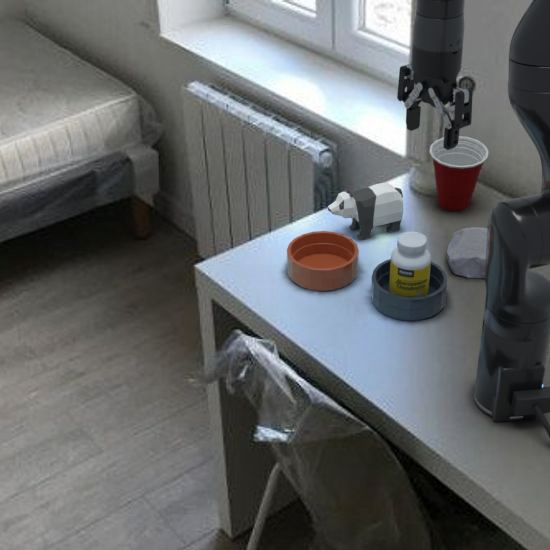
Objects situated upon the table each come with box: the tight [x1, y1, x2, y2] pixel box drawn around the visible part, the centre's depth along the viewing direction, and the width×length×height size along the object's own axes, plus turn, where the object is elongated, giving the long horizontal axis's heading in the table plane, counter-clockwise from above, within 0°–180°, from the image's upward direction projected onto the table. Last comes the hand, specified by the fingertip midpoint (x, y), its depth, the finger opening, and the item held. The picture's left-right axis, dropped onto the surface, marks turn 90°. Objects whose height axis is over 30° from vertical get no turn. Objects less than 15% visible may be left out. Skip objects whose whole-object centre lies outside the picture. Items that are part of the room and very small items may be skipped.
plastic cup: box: [429, 135, 489, 213], centre depth 182 cm, size 11×11×12 cm
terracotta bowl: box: [286, 230, 360, 292], centre depth 167 cm, size 12×12×4 cm
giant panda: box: [327, 182, 404, 241], centre depth 176 cm, size 15×6×10 cm, turn 111°
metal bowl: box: [370, 258, 449, 321], centre depth 160 cm, size 12×12×4 cm
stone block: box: [446, 226, 488, 279], centre depth 169 cm, size 12×5×10 cm
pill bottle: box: [389, 231, 432, 297], centre depth 158 cm, size 6×6×12 cm
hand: (431, 138), depth 154 cm, fingers open, 8 cm apart
